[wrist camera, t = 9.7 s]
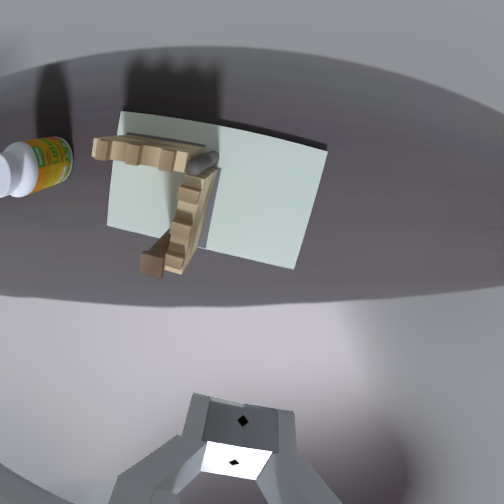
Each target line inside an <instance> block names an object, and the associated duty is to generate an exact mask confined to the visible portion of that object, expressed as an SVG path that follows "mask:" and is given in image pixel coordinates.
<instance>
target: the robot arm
mask: <svg viewBox="0 0 504 504" xmlns="http://www.w3.org/2000/svg"><path fill="white" fill-rule="evenodd" d="M200 471H205V472H210V473H216V474H223V475H230V476H235V477H241V478H248V479H254V480H256V482H257V484H258V486H259V488H260V489H261V491H262V493H263V494H264V496H265V498H266V500H267V501H268V503H269V504H342V502H341V501H340V500H339V499H338V498H337V497H336V496H335V494H334V493H333V492H332V491H331V490H330V489H329V488H328V487H327V485H326V484H325V483H324V482H323V480H322V479H321V478H320V477H319V476H318V474H317V473H316V472H315V471H314V470H313V468H312V467H311V466H310V465H309V464H308V462H307V461H306V460H305V459H304V457H303V456H301V455H297V445H296V430H295V416H294V412H293V411H287V410H280V409H274V408H268V407H261V406H254V405H248V404H240V403H236V402H231V401H226V400H222V399H218V398H214V397H211V398H210V397H209V396H205V395H201V394H197V393H194V394H193V395H192V398H191V402H190V406H189V410H188V414H187V418H186V422H185V426H184V429H183V434H182V436H179V435H176V436H175V437H173V438H172V439H171V440H169V441H168V442H166V443H165V444H164V445H162V446H161V447H160V448H158V449H157V450H155V451H154V452H153V453H151V454H150V455H148V456H147V457H145V458H144V459H143V460H141V461H140V462H138V463H137V464H135V465H134V466H132V467H131V468H129V469H128V470H127V471H125V472H123V473H122V474H120V475H119V476H118V478H117V481H116V484H115V486H114V489H113V492H112V495H111V498H110V501H109V503H108V504H180V498H179V497H178V496H177V495H176V494H177V493H178V492H179V491H180V490H181V489H183V488H184V487H185V486H186V485H187V484H188V483H189V482H190V481H191V480H192V479H193V478H194V477H195V476H196V475H197V474H198V473H200ZM0 504H74V503H71V502H69V501H67V500H65V499H63V498H61V497H59V496H57V495H55V494H53V493H51V492H49V491H47V490H45V489H43V488H41V487H39V486H37V485H36V484H34V483H32V482H30V481H29V480H27V479H25V478H23V477H22V476H20V475H18V474H17V473H15V472H13V471H12V470H10V469H9V468H7V467H5V466H4V465H2V464H1V463H0Z"/></svg>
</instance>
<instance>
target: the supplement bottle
mask: <svg viewBox="0 0 504 504" xmlns="http://www.w3.org/2000/svg"><path fill="white" fill-rule="evenodd" d="M72 165H73V154H72V150H71V148H70V146H69V144H68V143H67V142H66V141H65V140H64V139H63V138H61V137H46V138H39V139H32V140H26V141H20V142H16V143H13V144H11V145H9V146H8V147H7V148H6V149H5V150H4V152H2V153H0V197H4V196H7V195H11V196H13V197H23V196H26V195H29V194H31V193H34V192H36V191H39V190H41V189H44V188H47V187H50V186H53V185H55V184H58V183H60V182H62V181H64V180H65V179H66V178H67V177H68V175H69V174H70V171H71V169H72Z"/></svg>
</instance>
